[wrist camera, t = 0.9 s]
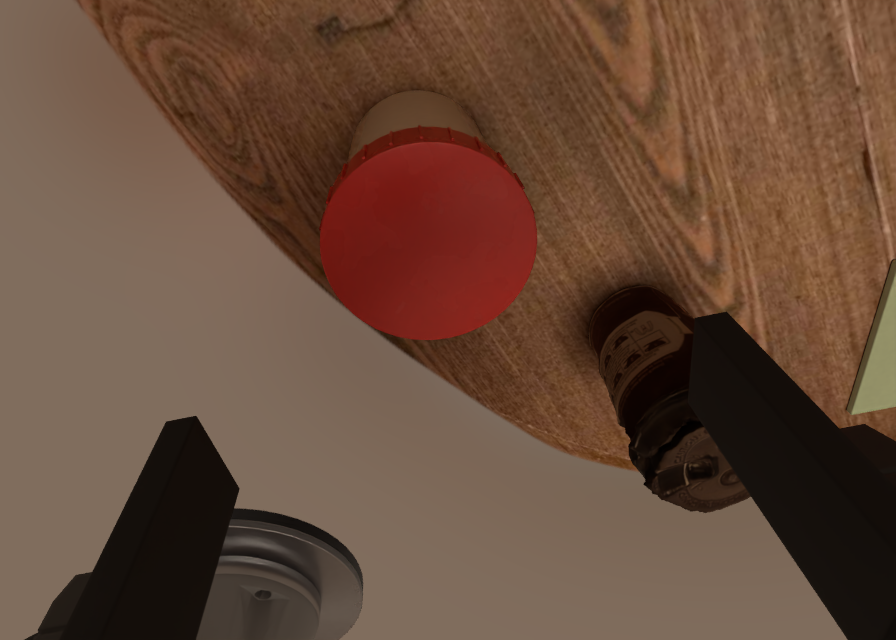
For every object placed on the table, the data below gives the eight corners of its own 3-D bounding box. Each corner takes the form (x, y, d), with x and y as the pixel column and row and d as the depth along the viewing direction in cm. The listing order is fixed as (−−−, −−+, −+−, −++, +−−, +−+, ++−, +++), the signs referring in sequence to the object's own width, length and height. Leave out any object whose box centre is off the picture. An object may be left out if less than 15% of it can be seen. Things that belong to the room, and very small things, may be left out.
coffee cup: (546, 354, 39) (606, 505, 28) (605, 254, 35) (701, 385, 24) (648, 382, 41) (740, 532, 30) (714, 291, 37) (847, 426, 26)
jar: (369, 236, 33) (360, 342, 24) (332, 106, 29) (304, 173, 20) (493, 211, 33) (533, 308, 24) (474, 76, 29) (514, 130, 19)
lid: (355, 329, 26) (352, 357, 24) (295, 149, 21) (286, 167, 19) (535, 293, 25) (546, 320, 23) (515, 103, 21) (527, 117, 19)
